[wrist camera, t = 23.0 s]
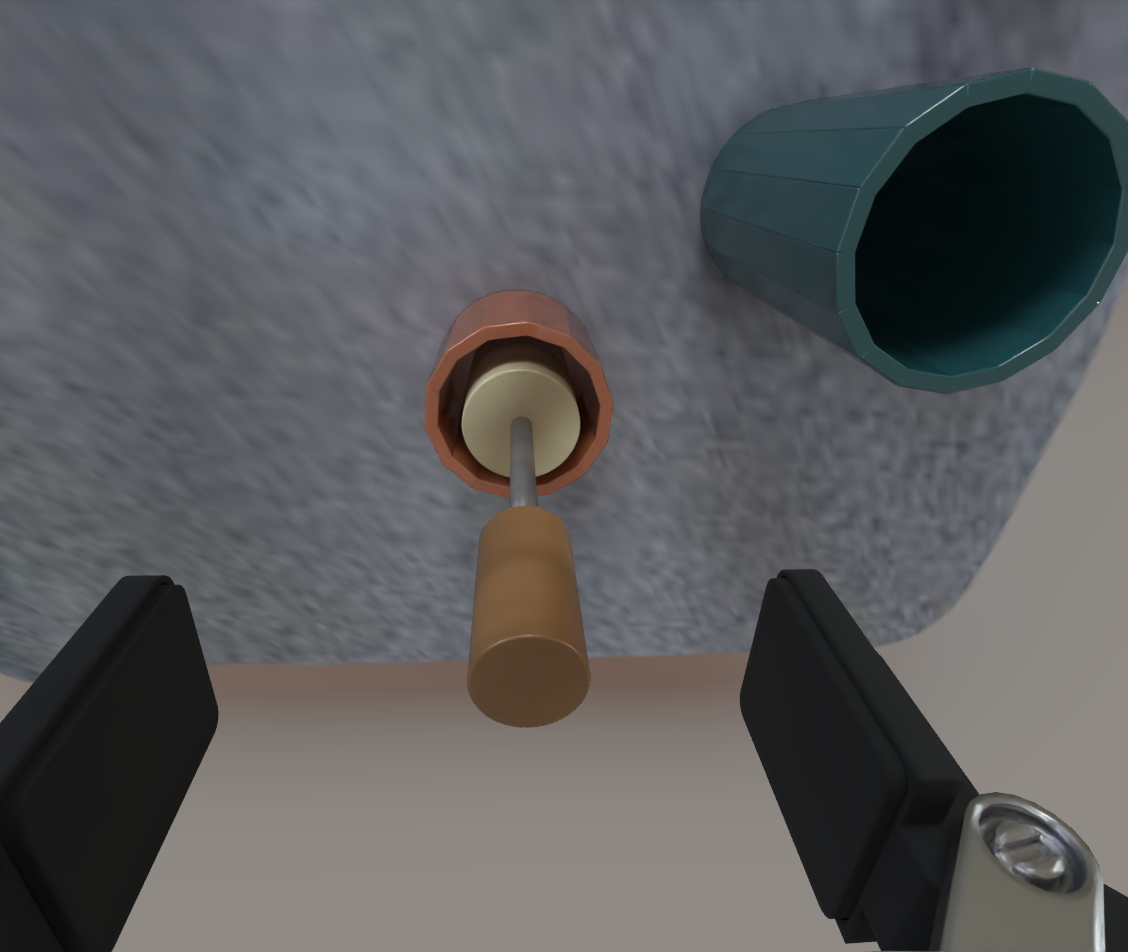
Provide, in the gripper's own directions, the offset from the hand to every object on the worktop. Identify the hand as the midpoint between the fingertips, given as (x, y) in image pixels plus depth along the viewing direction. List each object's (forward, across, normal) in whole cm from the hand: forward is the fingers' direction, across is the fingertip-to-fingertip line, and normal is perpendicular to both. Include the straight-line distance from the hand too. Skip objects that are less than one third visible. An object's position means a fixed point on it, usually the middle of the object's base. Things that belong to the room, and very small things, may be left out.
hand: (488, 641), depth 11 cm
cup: (+20, -12, -5) cm, 24 cm away
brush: (+20, -1, +2) cm, 20 cm away
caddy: (+20, -1, +2) cm, 21 cm away
